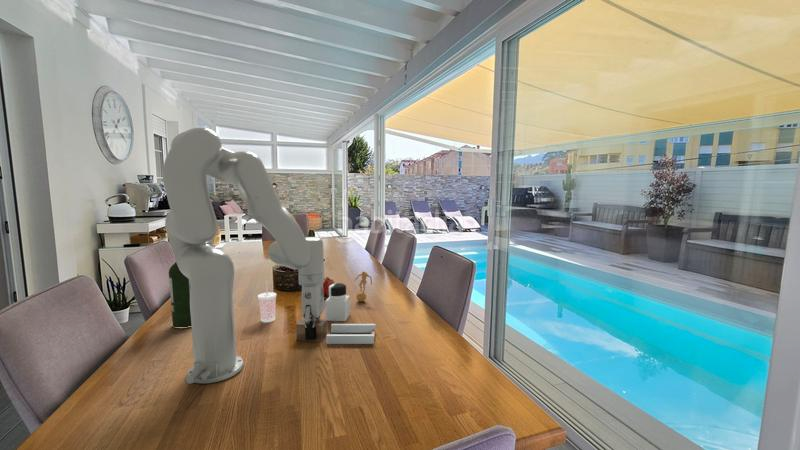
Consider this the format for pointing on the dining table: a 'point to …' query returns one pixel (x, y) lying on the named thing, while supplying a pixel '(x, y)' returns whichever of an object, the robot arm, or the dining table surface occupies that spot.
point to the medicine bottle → (337, 303)
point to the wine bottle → (179, 297)
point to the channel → (351, 337)
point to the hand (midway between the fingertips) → (313, 334)
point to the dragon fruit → (327, 285)
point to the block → (320, 329)
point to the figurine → (361, 295)
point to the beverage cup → (267, 305)
